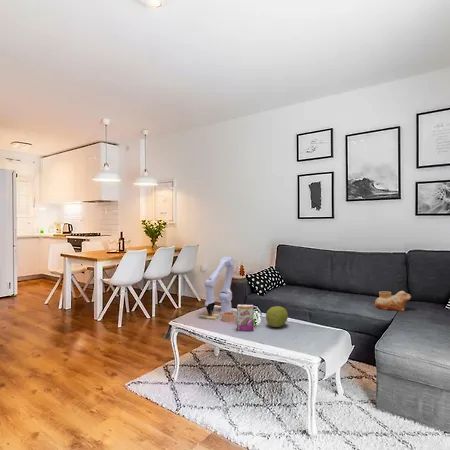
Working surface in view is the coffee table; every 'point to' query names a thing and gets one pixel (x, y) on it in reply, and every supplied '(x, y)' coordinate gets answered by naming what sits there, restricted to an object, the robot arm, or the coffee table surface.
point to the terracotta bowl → (228, 316)
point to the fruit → (276, 316)
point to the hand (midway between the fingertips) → (210, 313)
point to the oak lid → (210, 315)
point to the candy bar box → (245, 317)
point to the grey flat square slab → (210, 319)
